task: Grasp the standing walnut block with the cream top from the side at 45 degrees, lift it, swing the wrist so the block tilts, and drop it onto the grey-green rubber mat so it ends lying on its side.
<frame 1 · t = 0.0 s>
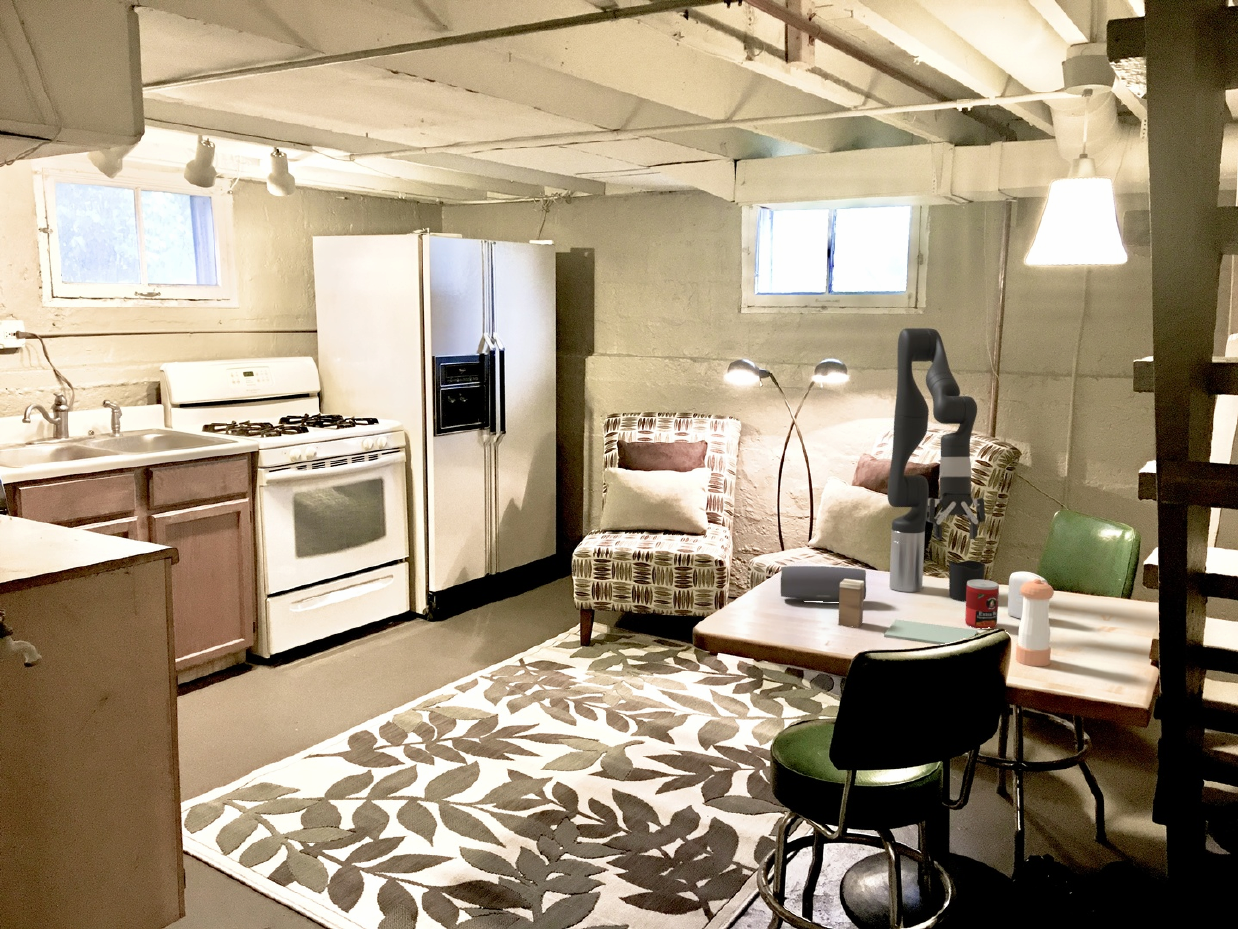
hand: (955, 539, 249), 22 cm above the table, tool pointing down, fingers open, 8 cm apart
bluetooth speaker: (822, 602, 274), on the table
pen holder: (965, 598, 278), on the table
canned food: (980, 625, 252), on the table
rubber mat: (931, 634, 244), on the table
walnut block: (850, 623, 253), on the table
salt shaker: (1032, 662, 225), on the table
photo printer: (1026, 619, 258), on the table
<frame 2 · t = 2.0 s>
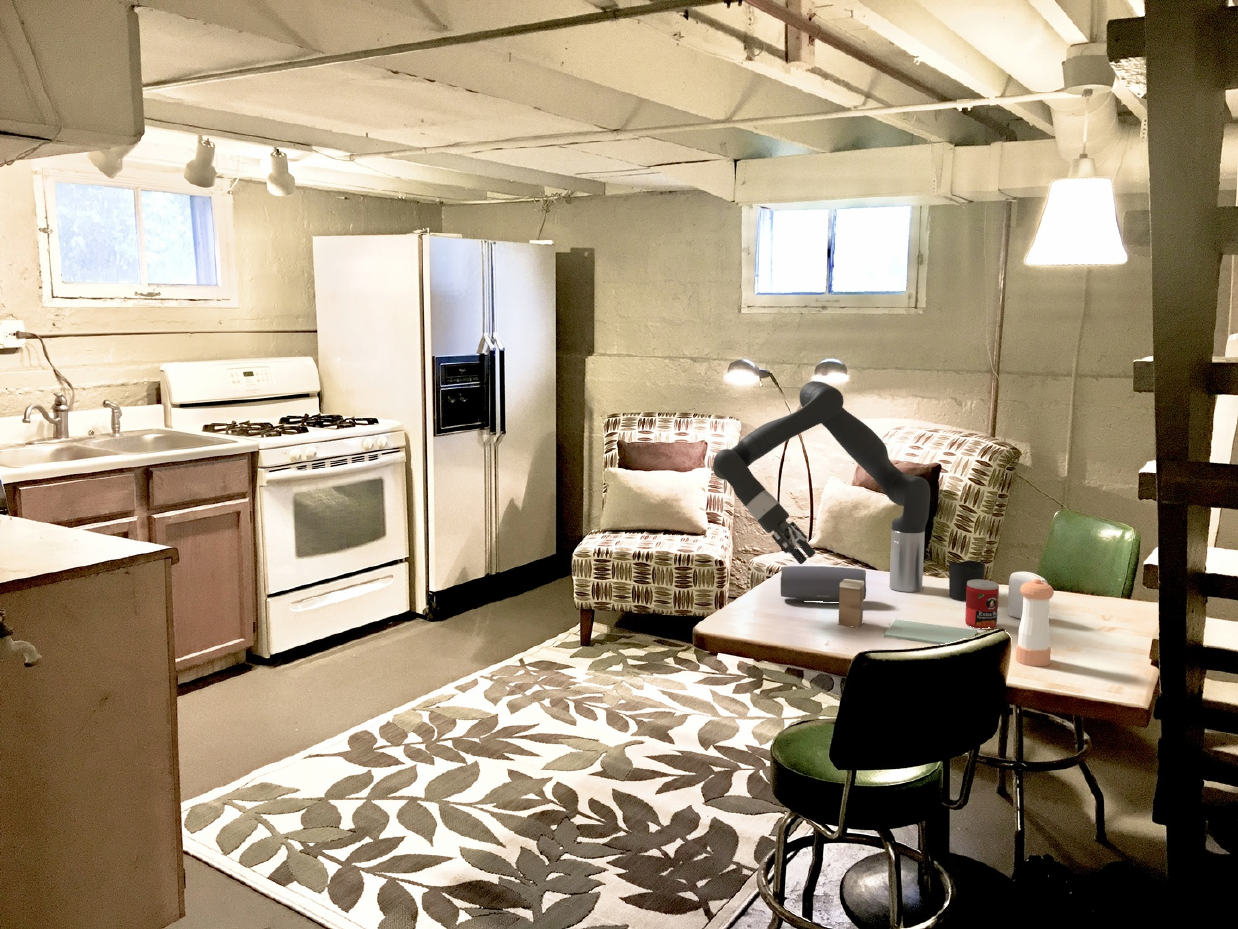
hand: (808, 558, 256), 16 cm above the table, tool tilted 45°, fingers open, 8 cm apart
nothing on the table moved.
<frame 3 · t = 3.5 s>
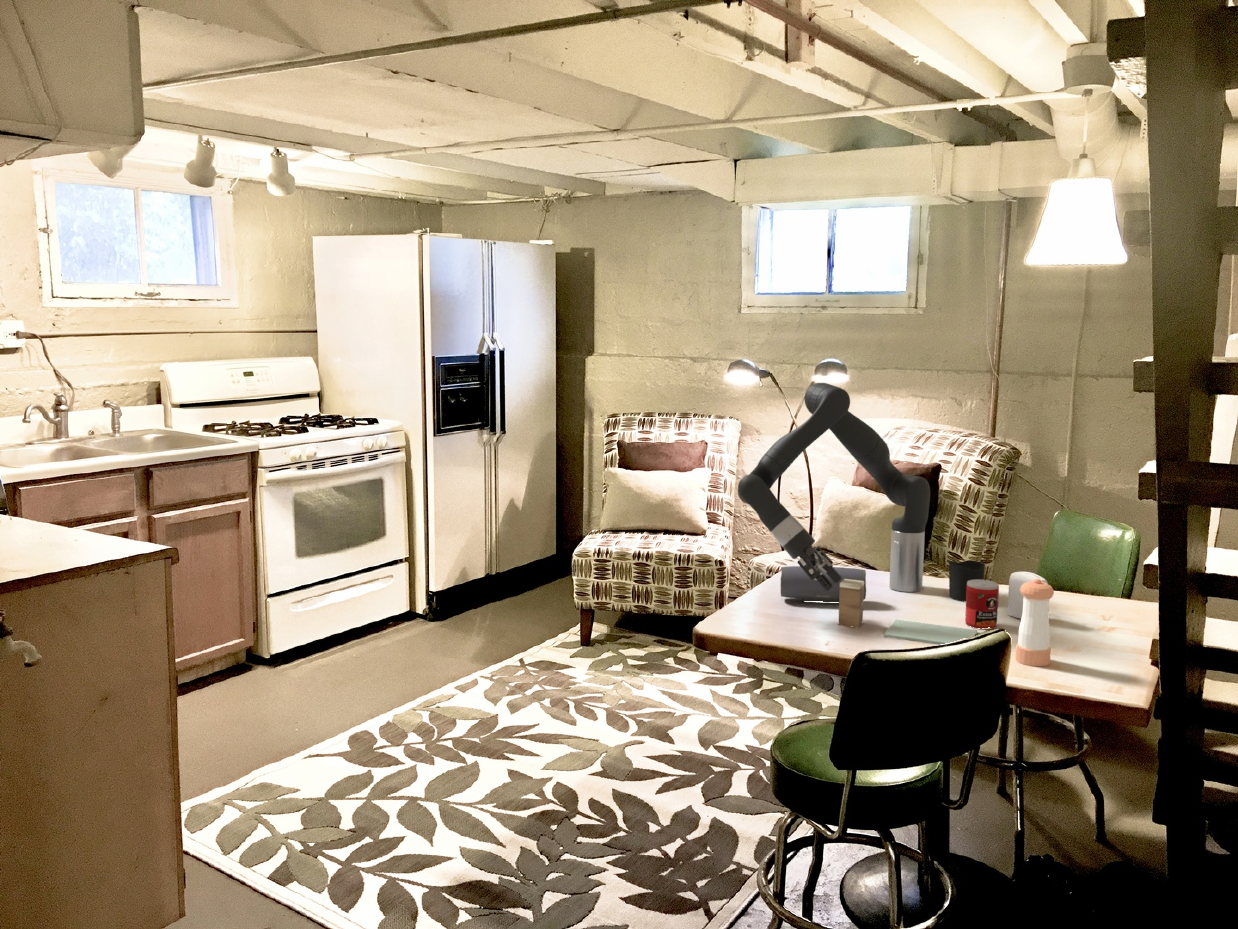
hand: (834, 584, 254), 10 cm above the table, tool tilted 45°, fingers open, 8 cm apart
nothing on the table moved.
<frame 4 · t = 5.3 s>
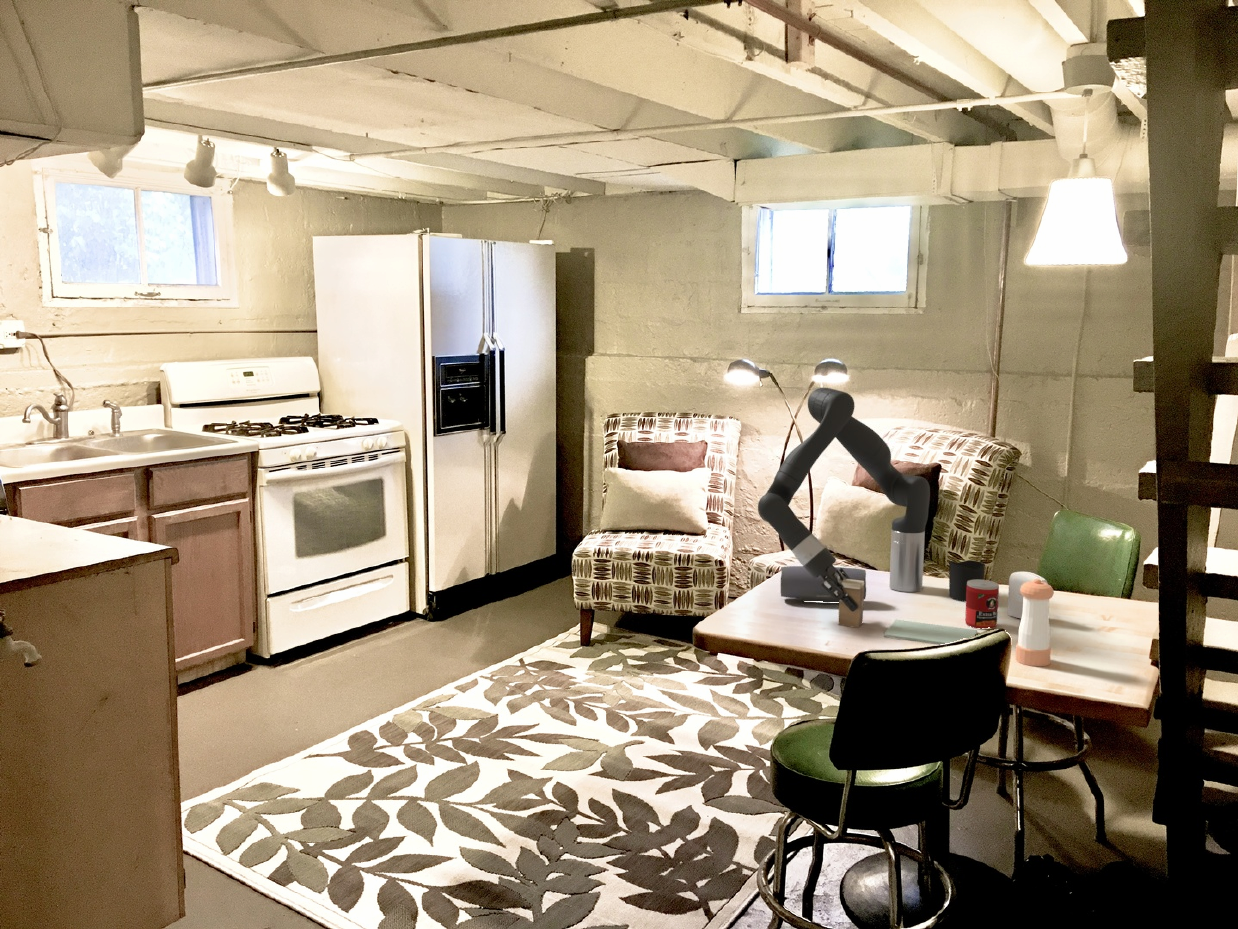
hand: (858, 606, 252), 5 cm above the table, tool tilted 45°, fingers closed on walnut block, 5 cm apart
walnut block: (850, 623, 253), on the table, touching gripper
everything else where it was.
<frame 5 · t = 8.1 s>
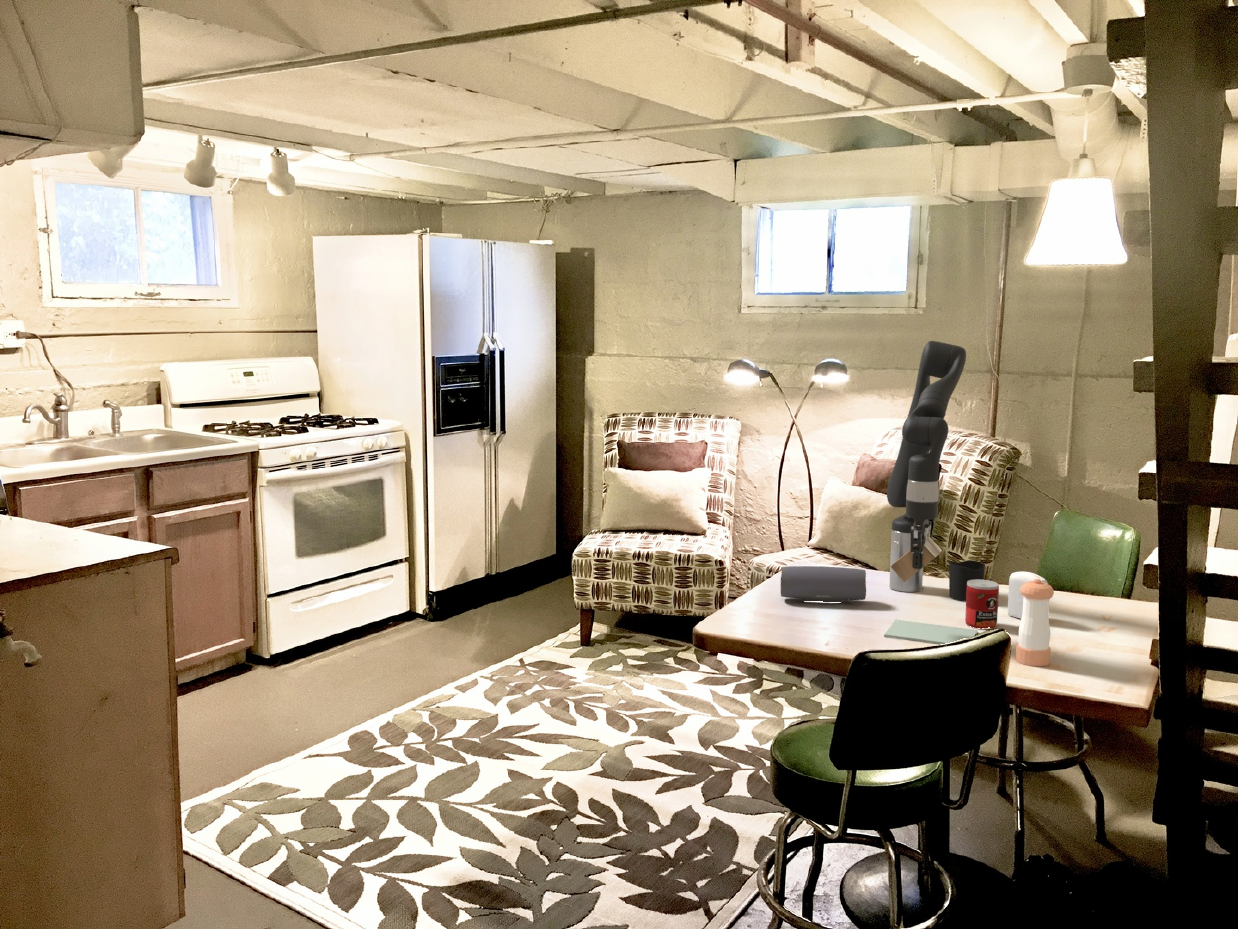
hand: (919, 565, 244), 17 cm above the table, tool pointing down, fingers closed on walnut block, 5 cm apart
walnut block: (899, 572, 246), point 15 cm above the table, tilted 45°, touching gripper
everything else where it was.
when the fingers open (6 cm above the table, at t = 10.1 s): walnut block drops 1 cm and tips over, resting on rubber mat.
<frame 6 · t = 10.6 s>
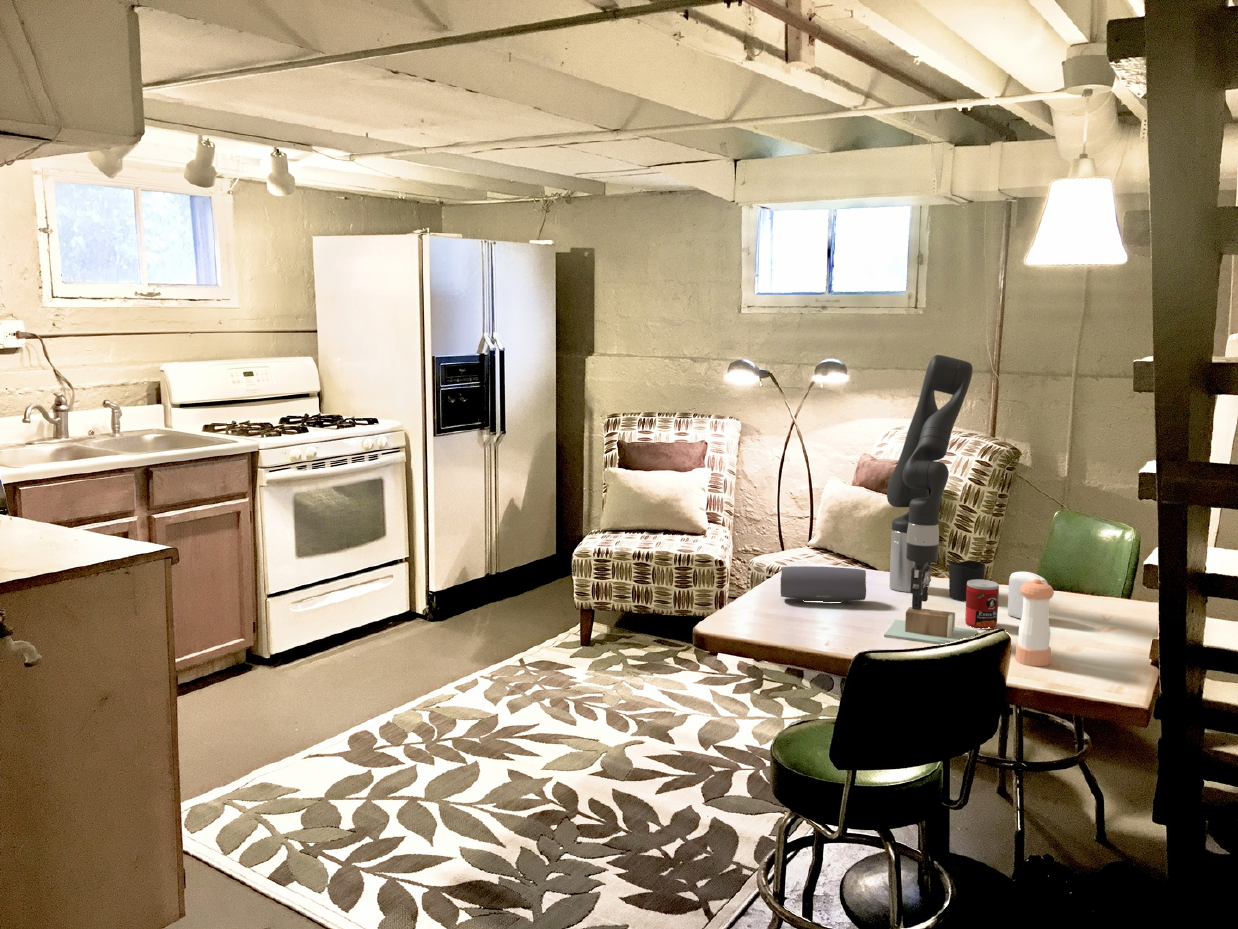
hand: (919, 605, 245), 7 cm above the table, tool pointing down, fingers open, 8 cm apart
walnut block: (907, 619, 247), point 3 cm above the table, tilted 90°, touching rubber mat
everything else where it was.
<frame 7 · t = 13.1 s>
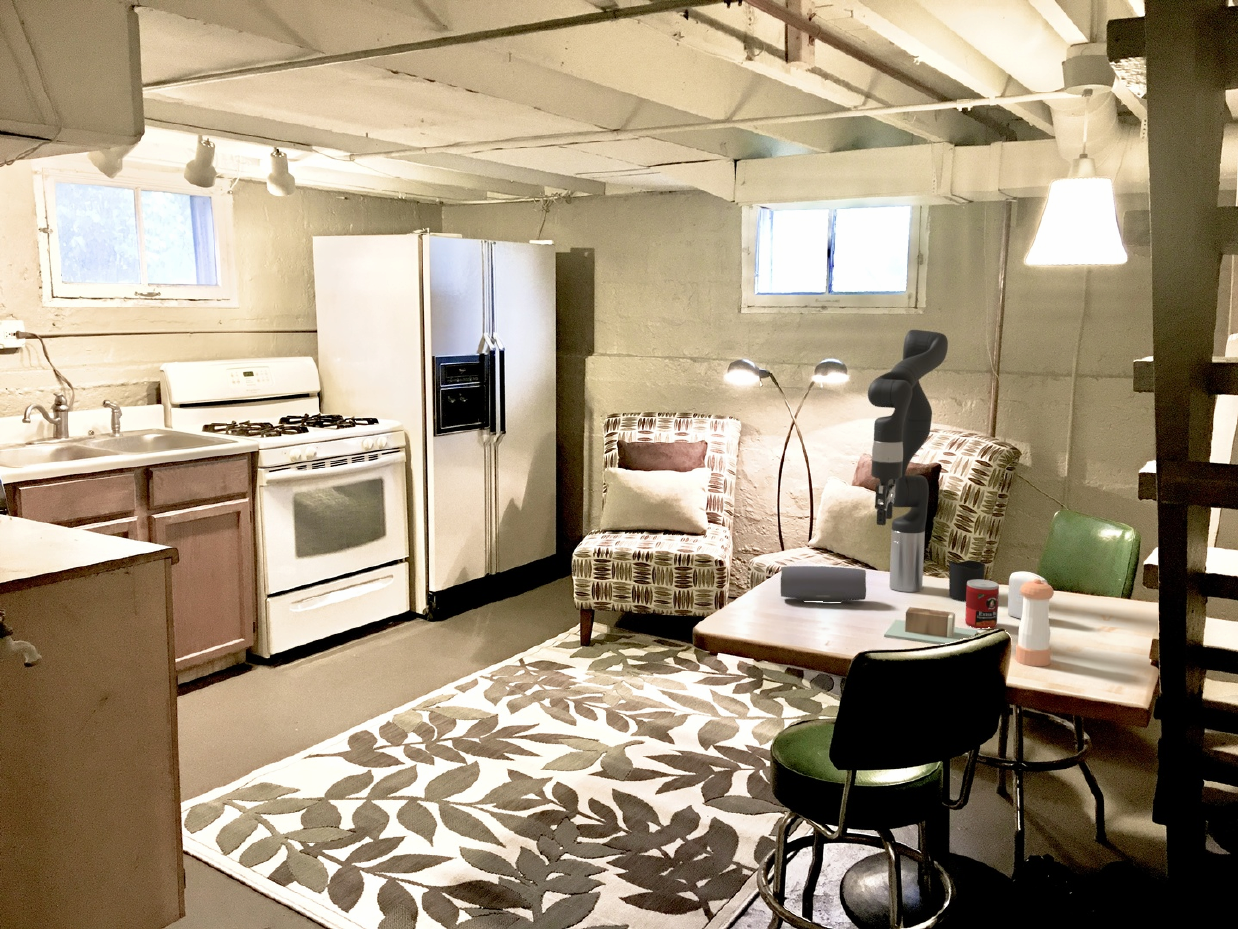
hand: (884, 521, 251), 26 cm above the table, tool pointing down, fingers open, 8 cm apart
nothing on the table moved.
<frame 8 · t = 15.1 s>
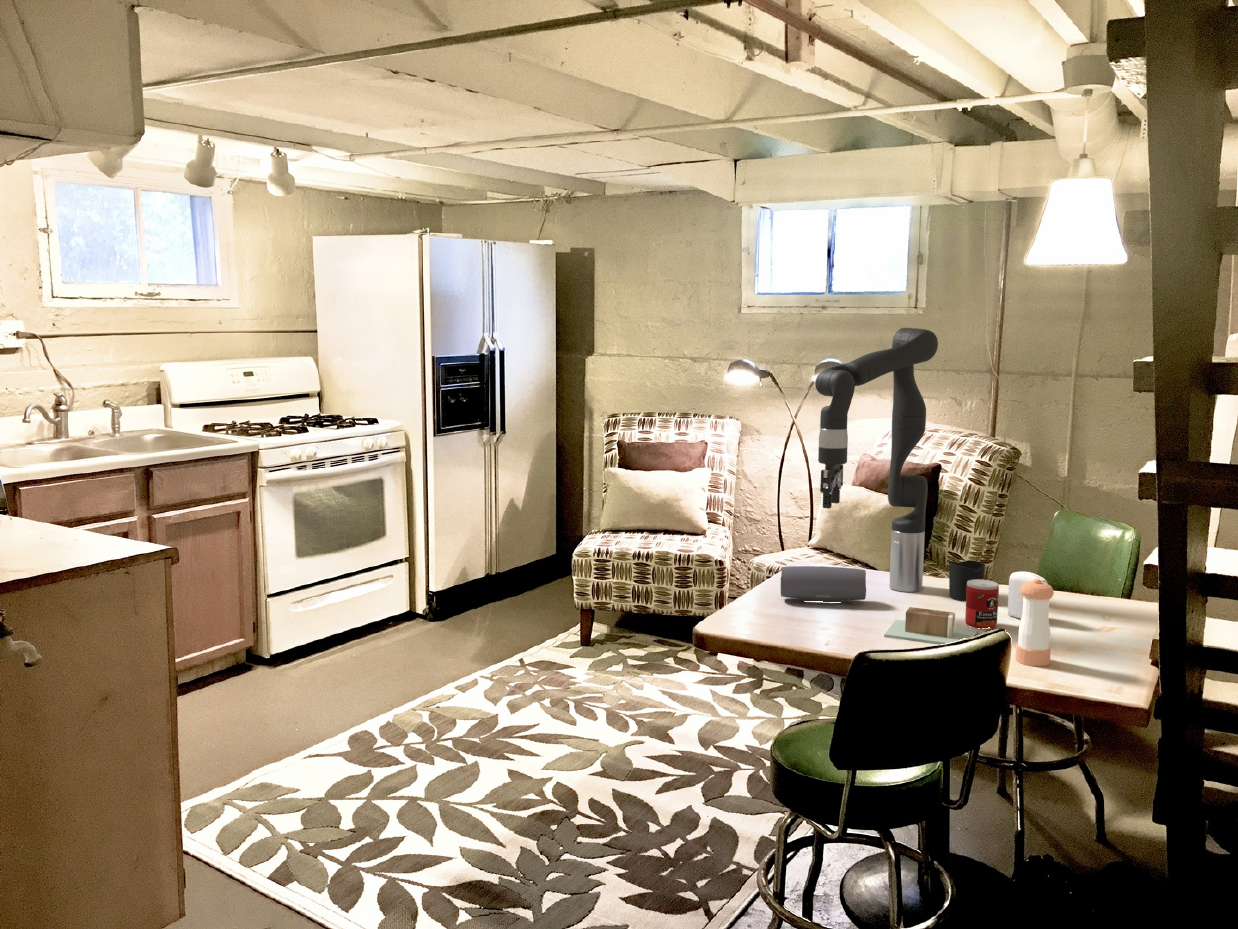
hand: (831, 505, 264), 28 cm above the table, tool pointing down, fingers open, 8 cm apart
nothing on the table moved.
at the end: walnut block tilted 90°; walnut block inside the target area (5.9 cm from its centre), point 3.1 cm above the table; the gripper is holding nothing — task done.
